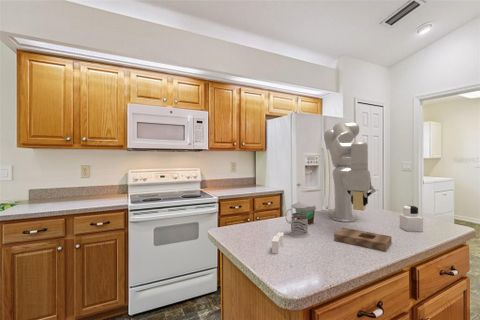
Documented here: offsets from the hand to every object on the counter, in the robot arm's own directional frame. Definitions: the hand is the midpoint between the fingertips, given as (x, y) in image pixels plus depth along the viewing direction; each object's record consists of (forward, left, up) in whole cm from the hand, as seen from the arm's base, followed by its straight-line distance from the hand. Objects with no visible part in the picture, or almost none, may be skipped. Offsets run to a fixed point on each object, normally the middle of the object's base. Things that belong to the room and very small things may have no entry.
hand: (359, 204), depth 116 cm
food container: (-29, 0, -14) cm, 32 cm away
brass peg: (0, 0, -2) cm, 2 cm away
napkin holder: (-20, -42, -15) cm, 48 cm away
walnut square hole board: (+4, -12, -14) cm, 19 cm away
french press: (-23, -20, -14) cm, 34 cm away
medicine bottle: (+18, +22, -14) cm, 32 cm away
